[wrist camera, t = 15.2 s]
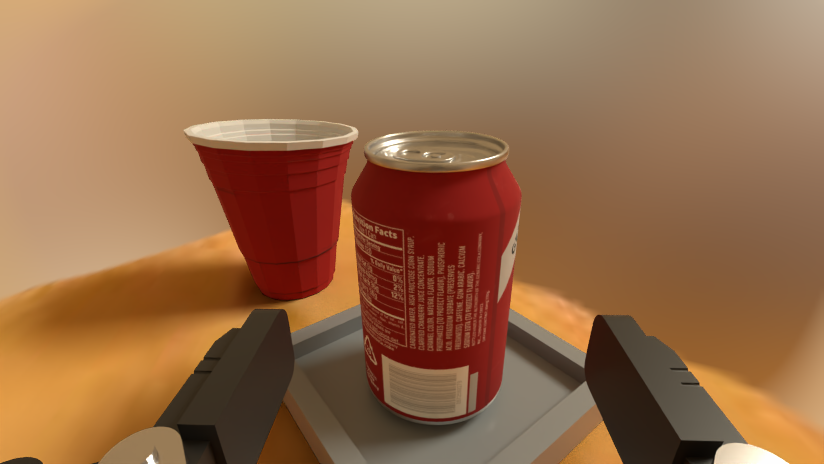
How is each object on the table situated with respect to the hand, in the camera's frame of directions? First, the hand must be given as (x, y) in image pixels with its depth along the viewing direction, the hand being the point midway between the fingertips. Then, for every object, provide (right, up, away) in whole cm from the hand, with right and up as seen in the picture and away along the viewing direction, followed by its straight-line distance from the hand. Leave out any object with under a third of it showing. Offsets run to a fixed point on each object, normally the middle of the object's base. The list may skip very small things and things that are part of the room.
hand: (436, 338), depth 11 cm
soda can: (0, -5, +10) cm, 11 cm away
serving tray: (0, -6, +11) cm, 12 cm away
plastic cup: (-9, -1, +21) cm, 23 cm away
